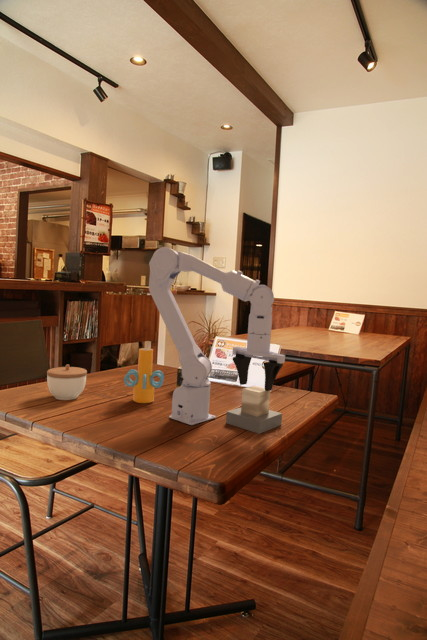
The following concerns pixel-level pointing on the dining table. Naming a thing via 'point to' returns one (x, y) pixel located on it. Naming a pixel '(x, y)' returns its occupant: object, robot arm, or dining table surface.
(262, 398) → the cream block
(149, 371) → the cylinder
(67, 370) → the lidded jar
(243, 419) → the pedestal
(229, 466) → the dining table surface
